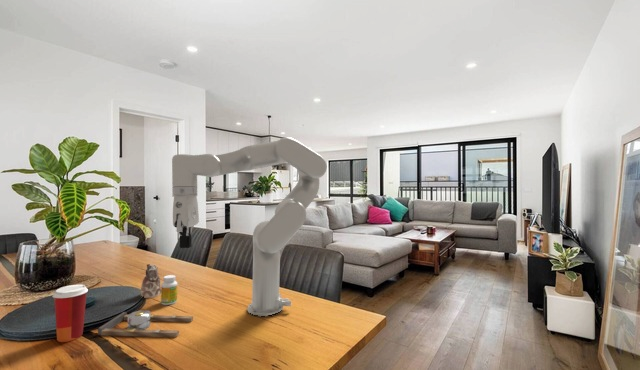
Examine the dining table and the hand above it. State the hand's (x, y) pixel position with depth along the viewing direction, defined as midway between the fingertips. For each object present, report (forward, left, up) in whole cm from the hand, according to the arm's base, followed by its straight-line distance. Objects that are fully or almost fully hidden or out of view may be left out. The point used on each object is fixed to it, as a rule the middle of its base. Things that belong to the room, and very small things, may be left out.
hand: (185, 247), depth 98 cm
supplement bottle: (+12, -13, -24) cm, 29 cm away
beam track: (+8, +6, -24) cm, 26 cm away
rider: (+11, +6, -24) cm, 27 cm away
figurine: (+23, -20, -24) cm, 38 cm away
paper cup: (+27, +13, -24) cm, 38 cm away
